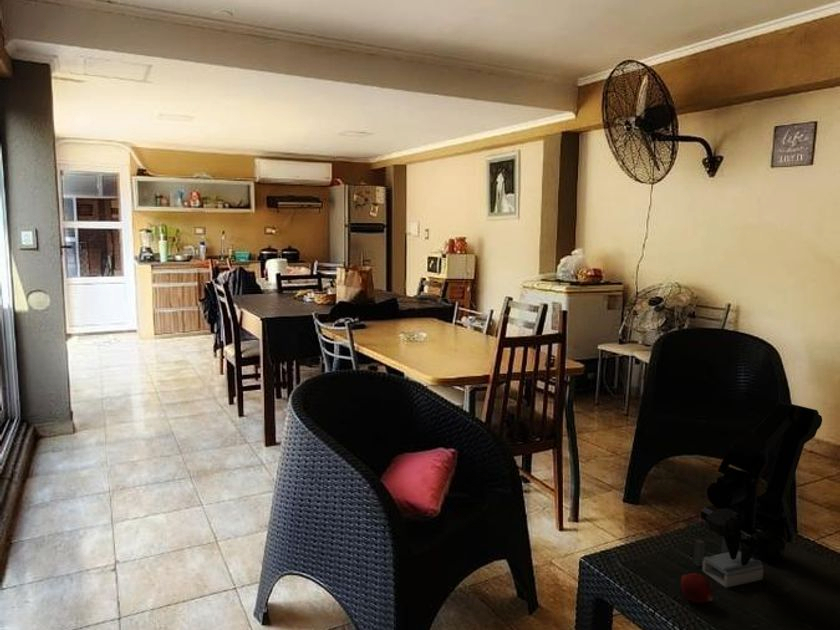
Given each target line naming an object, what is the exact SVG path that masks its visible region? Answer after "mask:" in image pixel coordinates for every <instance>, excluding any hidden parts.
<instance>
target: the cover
mask: <svg viewBox="0 0 840 630" xmlns="http://www.w3.org/2000/svg"><path fill="white" fill-rule="evenodd" d="M703 561H705V562H707V563H708V564H710V565H711V566H713V567H715V568H716V569H718V570H719V571H721V572H722V573H724V574H725V575H727V576H728V575H733V574H737V573H742V572H746V571H751V570H755V569H760V568H763V567H764V565H763V563H762V561H763V560H761V559H757V560H756V559H754V558H752V557H751V559H750V560H749V562H748V563H747V565H744V566H743V565H741V551H740V549H738V553H737V556H736V559H734V560H732V559H731V558H730V554H729V552H728V553H723V554H721V553H719V554H718V553H717V554H714V555H709V556H704V559H703ZM763 569H764V568H763Z"/></svg>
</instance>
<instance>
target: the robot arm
mask: <svg viewBox="0 0 840 630" xmlns="http://www.w3.org/2000/svg"><path fill="white" fill-rule="evenodd" d="M822 423H823V416H822V415H820V413H819V411H818V410H817V409H814V408H810V407H805V406H802V405H797V404H793V403H784V402H781V401H779V402H775V403H774V404H773V406H772V410H771V411H770V412H769V413H768V415H766V417H765V418H764V419H763V420H762V422H760V424H759V425H758V426H757V427H756V428H755V430H753V432H752V433H751V434H749V435H746V436H742V437H740V438H738V439H736V440H735V441H734V442H733V443H732V444H731V445H729V447H728V448H727V450H726V452H725V455H724V456H723V458H722V461H721V463H720V465H719V467H718V470H717V472H719V473H721V474H724V475H723V476H721V475H720V476H718V477H717V478H716V481H715V482H713V483H711V484H710V485H709V486H708V488H707V489H706V496H707V498H708V501H709V502H710V503H711V504H712V505H709V506H704V507H703V508H702V509H701V511H700V519H701V520H703V521H705V522H707V525H708V529H709V531H711V532H714V533H716V534H717V535H718V536H719V537H724V539H725V541H726V544H727V548H728V551H729V554H730V558H731V559H732V560H734V559H736V556H737V553H738V550H740V549H739V547H740V545H741V551H740V552H741V565H743V566H744V565H747V563H748V562H749V560H750V559H751V558H752V557H753V556H754V557H756V558H758V560H760V561H763V562H764V563H766V564H768V565H775V564H780V563H784V562H785V563H786V562H789V560H790V558H788V556H785V555H784V552H785V547H786V543H793V538H794V536H795V532H796V529H795V527H794V526H793V524H792V521H790V519H791V514H792V513H791V512H792V511H791V509H790V506H789V502H788V498H789V496H790V495H789V494H790V491H791V488H792V484H793V482H794V478H795V475H796V471H797V468H798V466H799V462H800V459H801V456H802V453H803V449H804V447H805V444H807V443H808V442H809V441H811V440H812V439H813V438H815V436H816V435H817V433H818V430H819V429H820V428H821V426H822V425H823V424H822ZM781 437H782V438H781ZM780 438H781V442H780V444H779V448H778V451H777V453H776V456H775V457H776V458H775V460H774V464H773V467H772V470H771V474H770V475H769V476H770V477H769V479H768V483H767V486H766V488H765V491H764V492H763V493H762V494H760V495H759V496H758V489H759V486H758V485H759V480H760V479H761V478H762V477H763V473H764V472H765V470H766V468H767V466H768V465H769V464H768V463H769V461H770V460H769V459H770V458H769V452H770V451H771V449H772V448H773V447H774V446H775V444H776V443H777V442H778V441H779V439H780ZM731 466H732V467H731ZM743 534H744V537H743V538H742V535H743Z"/></svg>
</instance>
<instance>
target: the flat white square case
mask: <svg viewBox="0 0 840 630" xmlns="http://www.w3.org/2000/svg"><path fill="white" fill-rule="evenodd" d="M721 537H722V536H721ZM705 546H706V542H705V541H704V540H702V539H701V538H700V539H695V541H694V553H693V562H692V563H693V564H694V565H695V566H696V567H701V571H702V572H703V573H704V574H706V575H707V576H709V577H710V578H711V579H713V580H714V581H715V582H717V583H718V584H720V585H722V586H723V587H724V588H731V587H735V586H739V585H740V586H741V585H745V584H748V583H754V582H757V581H762V580H764V579H763V578H764V570H765V569H764V568H760V569H755V570H751V571H746V572H742V573H737V574H733V575H728V576H727V575H725V574H724V573H722V572H721V571H719V570H718V569H716V568H715V567H713V566H711V565H710V564H708V563H707V562H705V561H704V557H705V550H706V549H705ZM720 549H721V550H720V551H721V552H720V554H723V553H728V552H729V551H728V548H727V544H726V541H725V539H724V537H722V540H721V548H720Z"/></svg>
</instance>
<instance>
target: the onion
mask: <svg viewBox="0 0 840 630" xmlns="http://www.w3.org/2000/svg"><path fill="white" fill-rule="evenodd" d="M680 579H681V581H680V588H681V591H682V594H683V595H684V596H685V598H686V599H688V600H689V601H691V602H692V603H698V604H704V603H706V602H712V601H713V600H714V597H713V596H712V588H711V585H710V582H709V580H708V579H706V578H705V576H703V575H702V574H699V573H695V572H692V573H688V574H683V575H682V576H681V578H680Z"/></svg>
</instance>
